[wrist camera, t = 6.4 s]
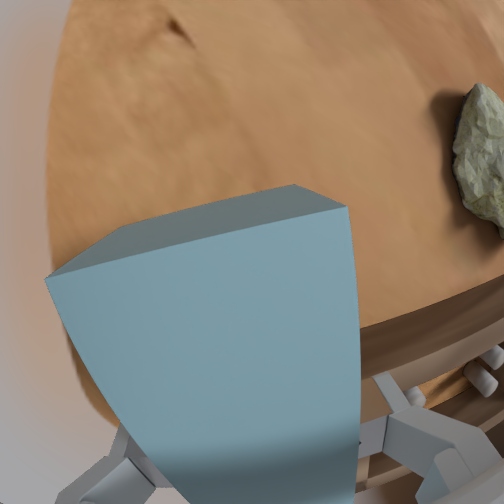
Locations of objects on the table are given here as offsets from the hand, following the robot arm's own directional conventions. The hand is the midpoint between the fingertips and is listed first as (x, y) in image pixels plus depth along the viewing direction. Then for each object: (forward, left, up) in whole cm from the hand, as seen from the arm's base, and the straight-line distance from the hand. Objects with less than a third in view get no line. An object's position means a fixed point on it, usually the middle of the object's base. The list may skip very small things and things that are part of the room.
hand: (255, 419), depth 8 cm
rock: (-5, +19, -9) cm, 22 cm away
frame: (+10, +13, -9) cm, 19 cm away
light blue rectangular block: (0, 0, -2) cm, 2 cm away
